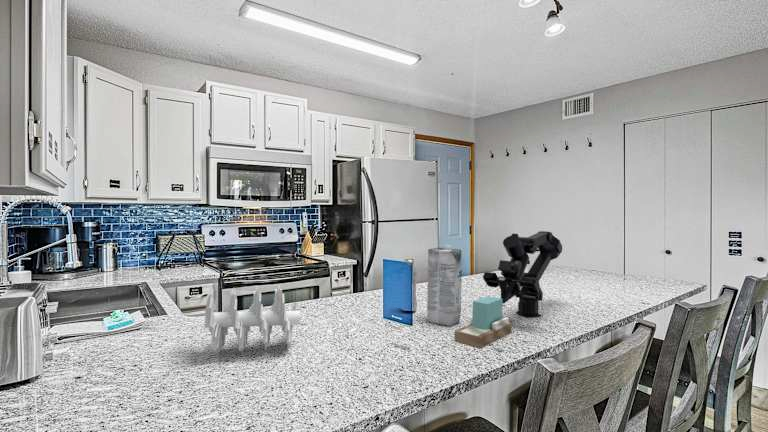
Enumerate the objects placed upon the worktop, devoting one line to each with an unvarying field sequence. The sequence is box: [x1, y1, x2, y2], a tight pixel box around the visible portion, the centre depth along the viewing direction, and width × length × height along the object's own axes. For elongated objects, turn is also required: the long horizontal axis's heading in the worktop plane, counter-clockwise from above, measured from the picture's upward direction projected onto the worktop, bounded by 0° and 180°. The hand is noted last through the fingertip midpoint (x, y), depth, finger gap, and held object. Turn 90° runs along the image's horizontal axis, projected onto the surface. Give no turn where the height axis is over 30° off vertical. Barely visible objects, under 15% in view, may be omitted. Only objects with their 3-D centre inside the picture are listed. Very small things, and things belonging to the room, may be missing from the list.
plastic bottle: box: [404, 258, 419, 312], centre depth 152 cm, size 6×7×20 cm
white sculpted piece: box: [204, 284, 301, 356], centre depth 111 cm, size 18×18×25 cm
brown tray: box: [454, 316, 513, 349], centre depth 124 cm, size 20×9×5 cm, turn 137°
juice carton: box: [426, 244, 463, 327], centre depth 138 cm, size 9×10×27 cm
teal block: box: [471, 296, 503, 330], centre depth 126 cm, size 10×5×8 cm, turn 137°
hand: (502, 302), depth 133 cm, fingers closed
